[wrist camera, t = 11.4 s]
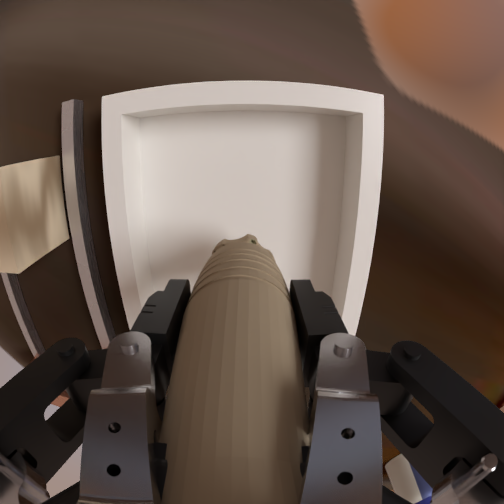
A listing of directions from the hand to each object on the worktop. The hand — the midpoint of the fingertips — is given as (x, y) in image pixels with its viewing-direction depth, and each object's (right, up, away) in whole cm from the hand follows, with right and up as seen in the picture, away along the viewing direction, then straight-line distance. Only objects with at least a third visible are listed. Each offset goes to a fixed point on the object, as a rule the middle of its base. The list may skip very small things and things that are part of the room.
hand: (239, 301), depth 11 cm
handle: (0, +2, +4) cm, 4 cm away
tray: (0, +2, +7) cm, 7 cm away
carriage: (-16, +6, +5) cm, 18 cm away
